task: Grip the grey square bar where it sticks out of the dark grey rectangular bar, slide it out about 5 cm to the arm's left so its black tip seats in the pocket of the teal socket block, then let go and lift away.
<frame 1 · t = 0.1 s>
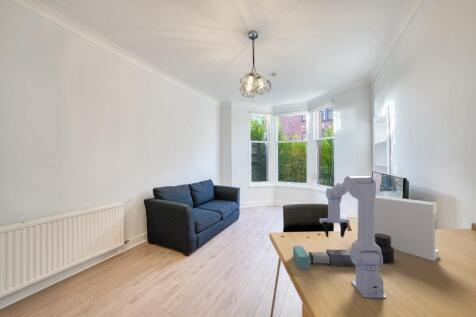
hand: (334, 236, 105), 10 cm above the table, tool pointing down, fingers open, 7 cm apart
ink bottle: (383, 260, 100), on the table
block: (394, 247, 115), on the table
grey square bar: (328, 257, 97), point 3 cm above the table, slide at 0.0 cm
dark grey rectangular bar: (343, 263, 96), on the table
socket block: (300, 263, 98), on the table
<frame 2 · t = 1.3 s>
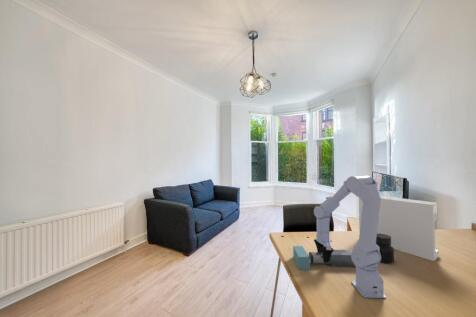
hand: (323, 258, 97), 2 cm above the table, tool pointing down, fingers open, 7 cm apart
nothing on the table moved.
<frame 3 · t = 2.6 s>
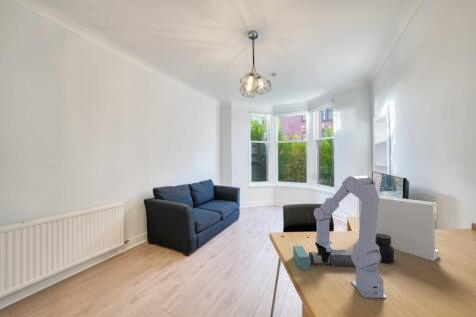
hand: (323, 260, 97), 2 cm above the table, tool pointing down, fingers closed on grey square bar, 4 cm apart
grey square bar: (328, 257, 97), point 3 cm above the table, slide at 0.0 cm, touching gripper
everything else where it was.
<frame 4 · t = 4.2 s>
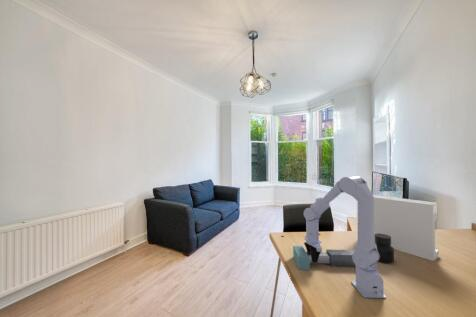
hand: (312, 259, 97), 2 cm above the table, tool pointing down, fingers closed on grey square bar, 4 cm apart
grey square bar: (318, 257, 97), point 3 cm above the table, slide at 4.8 cm, touching gripper
everything else where it was.
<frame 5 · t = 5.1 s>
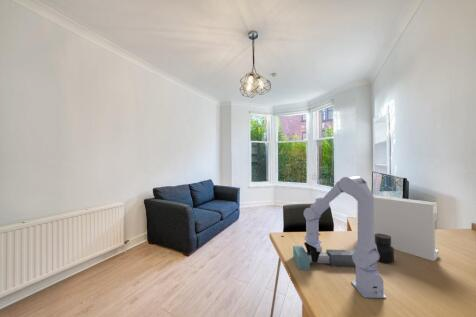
hand: (312, 260, 97), 2 cm above the table, tool pointing down, fingers closed on grey square bar, 4 cm apart
grey square bar: (318, 257, 97), point 3 cm above the table, slide at 4.8 cm, touching gripper
everything else where it was.
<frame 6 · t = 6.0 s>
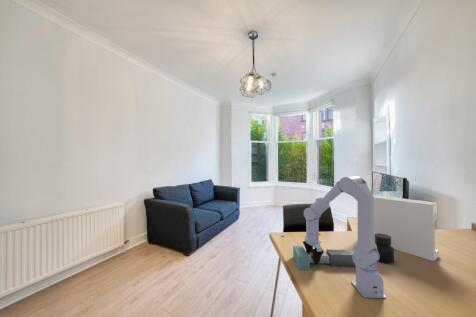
hand: (312, 259, 97), 2 cm above the table, tool pointing down, fingers open, 7 cm apart
grey square bar: (318, 257, 97), point 3 cm above the table, slide at 4.8 cm
everything else where it was.
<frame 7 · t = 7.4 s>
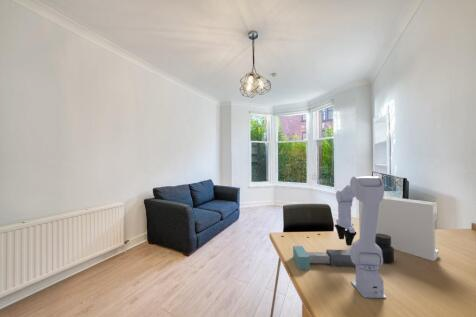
hand: (345, 242, 99), 9 cm above the table, tool pointing down, fingers open, 7 cm apart
nothing on the table moved.
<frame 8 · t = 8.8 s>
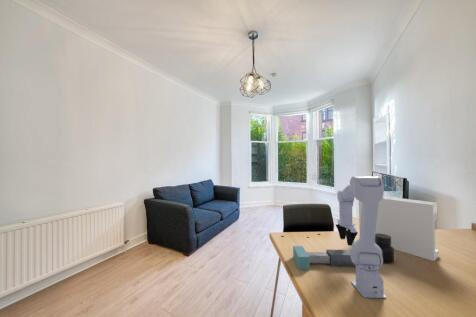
hand: (346, 242, 99), 9 cm above the table, tool pointing down, fingers open, 7 cm apart
nothing on the table moved.
at the end: grey square bar slide at 4.8 cm; the gripper is holding nothing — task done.
